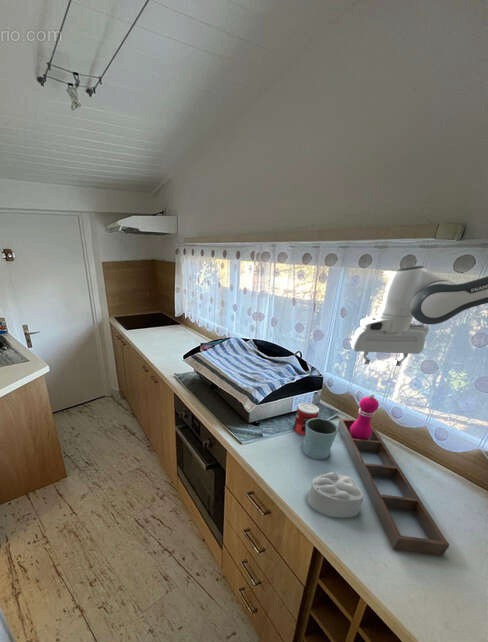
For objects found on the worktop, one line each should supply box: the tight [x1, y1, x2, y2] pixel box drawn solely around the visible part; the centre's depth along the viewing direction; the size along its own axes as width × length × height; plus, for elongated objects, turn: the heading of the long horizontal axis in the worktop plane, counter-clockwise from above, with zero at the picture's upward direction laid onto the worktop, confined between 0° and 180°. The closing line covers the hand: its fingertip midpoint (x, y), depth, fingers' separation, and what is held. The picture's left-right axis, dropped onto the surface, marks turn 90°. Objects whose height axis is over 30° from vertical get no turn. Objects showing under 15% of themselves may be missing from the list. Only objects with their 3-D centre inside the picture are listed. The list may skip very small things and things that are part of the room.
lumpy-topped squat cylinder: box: [307, 471, 365, 518], centre depth 87 cm, size 10×13×9 cm
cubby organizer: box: [337, 418, 450, 557], centre depth 97 cm, size 11×55×5 cm, turn 170°
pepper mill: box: [349, 393, 380, 440], centre depth 111 cm, size 7×7×20 cm
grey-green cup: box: [302, 417, 339, 460], centre depth 107 cm, size 10×10×12 cm
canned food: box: [293, 402, 320, 436], centre depth 119 cm, size 8×8×11 cm
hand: (380, 364), depth 101 cm, fingers open, 8 cm apart
